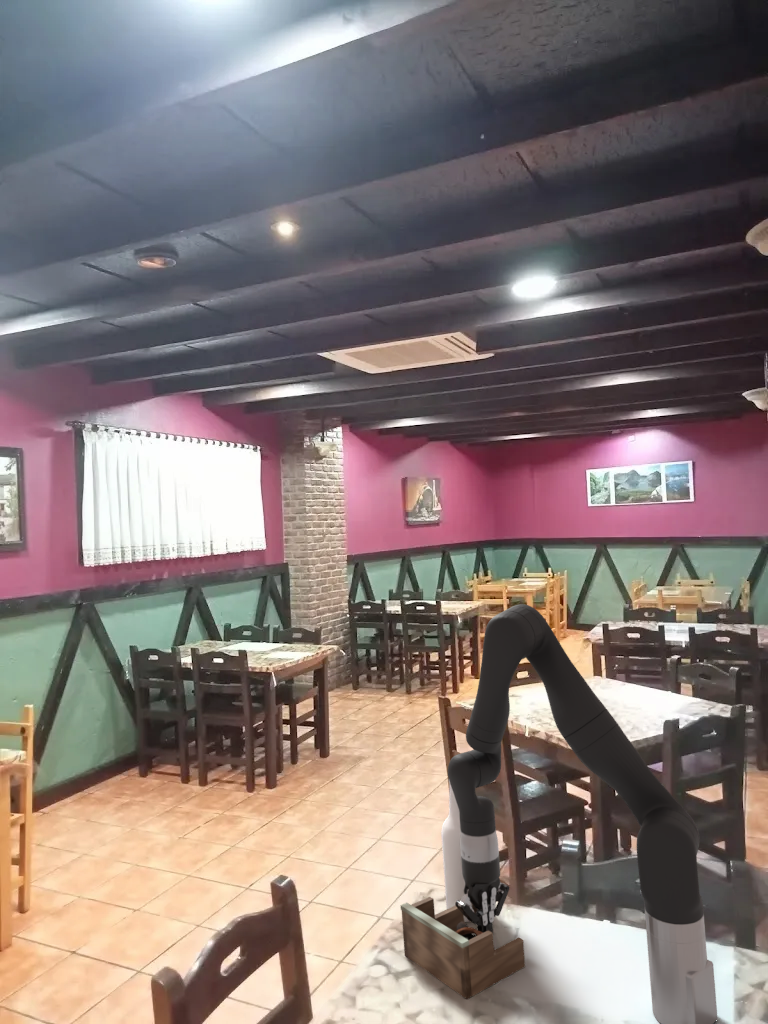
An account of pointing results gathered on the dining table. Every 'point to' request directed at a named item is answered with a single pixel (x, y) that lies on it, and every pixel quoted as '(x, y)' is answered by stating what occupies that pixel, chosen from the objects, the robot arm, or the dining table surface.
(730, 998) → the dining table surface
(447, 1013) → the dining table surface
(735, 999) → the dining table surface
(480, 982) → the brown stepped open box
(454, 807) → the alcohol
